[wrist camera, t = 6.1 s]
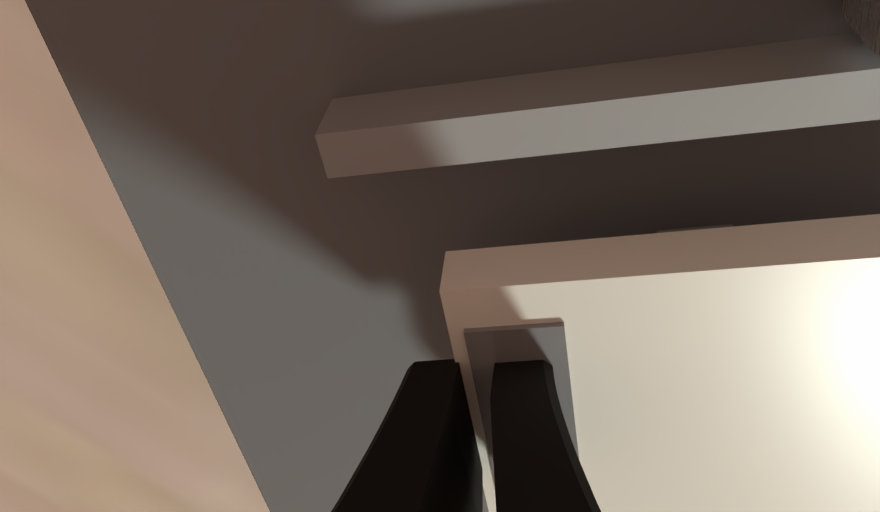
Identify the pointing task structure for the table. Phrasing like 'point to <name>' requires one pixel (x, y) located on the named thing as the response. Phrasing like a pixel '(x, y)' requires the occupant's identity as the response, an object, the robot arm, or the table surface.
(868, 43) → the pale beige block
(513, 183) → the control panel
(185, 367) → the table surface
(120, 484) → the table surface
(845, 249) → the plate
